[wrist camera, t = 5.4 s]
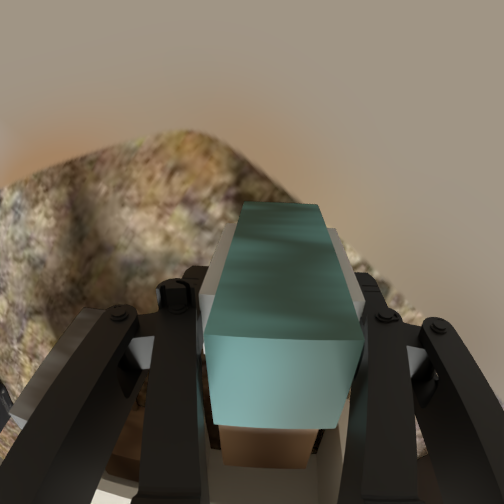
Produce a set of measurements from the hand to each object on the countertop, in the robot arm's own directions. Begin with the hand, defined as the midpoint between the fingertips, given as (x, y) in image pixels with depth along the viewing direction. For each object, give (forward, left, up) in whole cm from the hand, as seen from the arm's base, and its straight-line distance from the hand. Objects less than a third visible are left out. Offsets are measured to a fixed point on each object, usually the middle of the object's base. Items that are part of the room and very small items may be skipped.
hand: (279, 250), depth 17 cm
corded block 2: (0, -7, -2) cm, 7 cm away
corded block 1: (-12, -15, -2) cm, 20 cm away
